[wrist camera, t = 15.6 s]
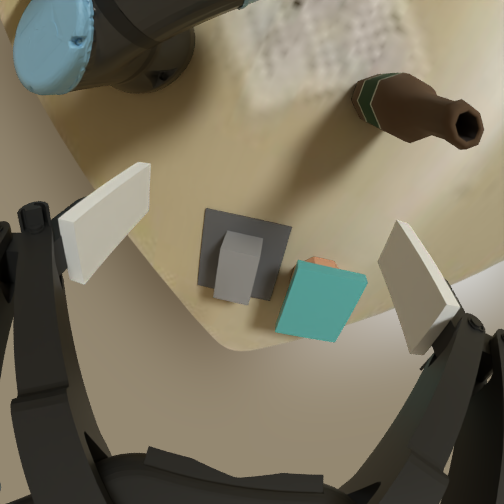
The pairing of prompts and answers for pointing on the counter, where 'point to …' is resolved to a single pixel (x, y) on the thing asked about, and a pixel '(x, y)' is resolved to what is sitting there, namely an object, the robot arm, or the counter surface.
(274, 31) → the counter surface
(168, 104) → the counter surface
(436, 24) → the counter surface
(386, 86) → the beer bottle
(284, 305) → the board
